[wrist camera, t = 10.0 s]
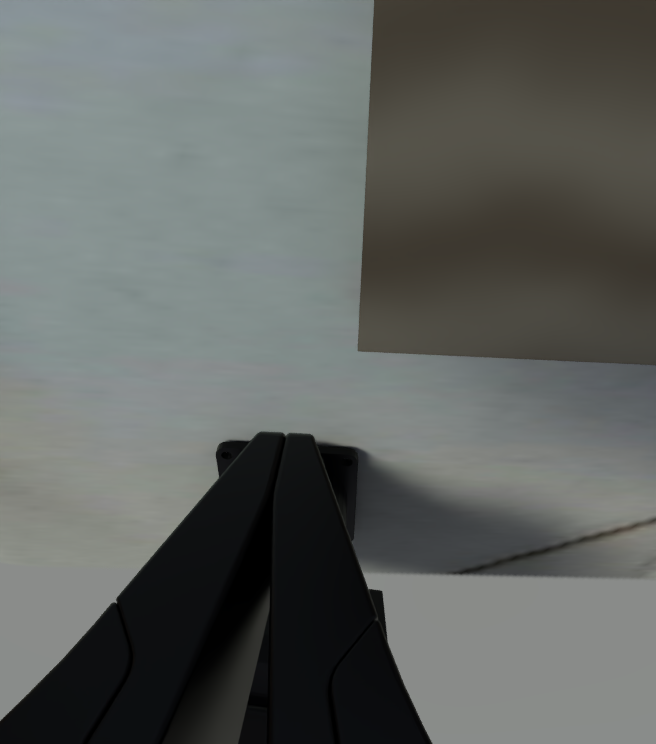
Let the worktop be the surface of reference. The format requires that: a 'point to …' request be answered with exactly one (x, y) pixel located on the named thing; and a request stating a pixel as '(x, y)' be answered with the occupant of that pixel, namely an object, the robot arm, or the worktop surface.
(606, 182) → the wooden board
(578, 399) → the worktop surface
